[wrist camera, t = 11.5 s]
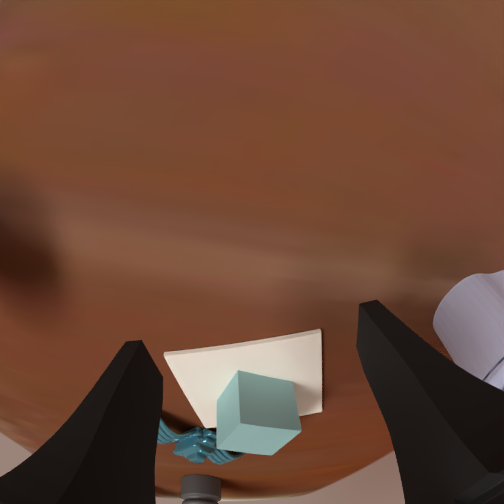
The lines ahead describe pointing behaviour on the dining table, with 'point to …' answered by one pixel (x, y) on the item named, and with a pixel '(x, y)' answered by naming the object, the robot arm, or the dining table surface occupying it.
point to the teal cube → (256, 414)
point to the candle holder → (200, 489)
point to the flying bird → (196, 444)
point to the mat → (251, 370)
